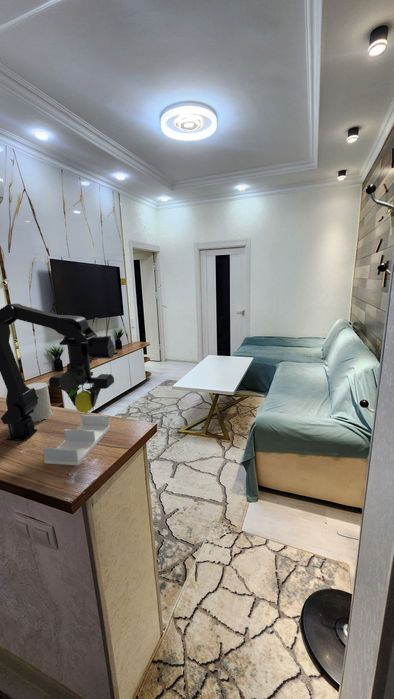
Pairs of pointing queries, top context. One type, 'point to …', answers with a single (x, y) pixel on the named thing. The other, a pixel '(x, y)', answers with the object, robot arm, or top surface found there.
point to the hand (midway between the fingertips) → (84, 406)
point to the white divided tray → (78, 441)
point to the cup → (41, 402)
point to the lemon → (82, 400)
